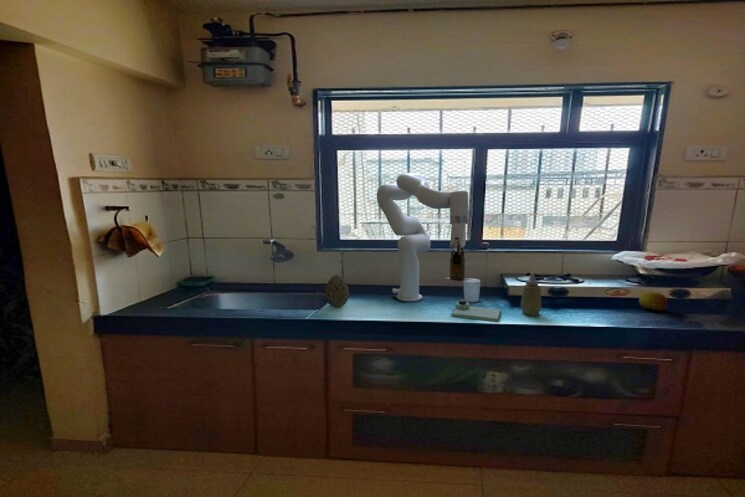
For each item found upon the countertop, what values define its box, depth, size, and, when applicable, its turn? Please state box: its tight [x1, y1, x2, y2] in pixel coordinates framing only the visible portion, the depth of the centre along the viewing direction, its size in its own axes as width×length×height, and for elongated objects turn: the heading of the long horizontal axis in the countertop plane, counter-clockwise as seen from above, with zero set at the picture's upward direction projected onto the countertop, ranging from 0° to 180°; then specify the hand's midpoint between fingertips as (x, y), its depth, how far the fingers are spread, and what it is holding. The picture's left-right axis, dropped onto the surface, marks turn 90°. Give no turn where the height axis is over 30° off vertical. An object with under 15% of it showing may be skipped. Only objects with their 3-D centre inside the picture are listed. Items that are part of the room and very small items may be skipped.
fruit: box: [638, 291, 668, 312], centre depth 150 cm, size 10×9×8 cm
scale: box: [451, 301, 501, 322], centre depth 148 cm, size 18×13×3 cm
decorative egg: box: [324, 274, 350, 309], centre depth 160 cm, size 11×11×15 cm
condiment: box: [446, 250, 471, 282], centre depth 148 cm, size 7×8×12 cm
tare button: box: [458, 299, 467, 305], centre depth 154 cm, size 3×3×2 cm
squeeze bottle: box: [520, 271, 543, 317], centre depth 147 cm, size 8×8×18 cm
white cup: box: [462, 277, 481, 303], centre depth 169 cm, size 8×8×10 cm
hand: (458, 262), depth 148 cm, fingers closed on condiment, 6 cm apart
